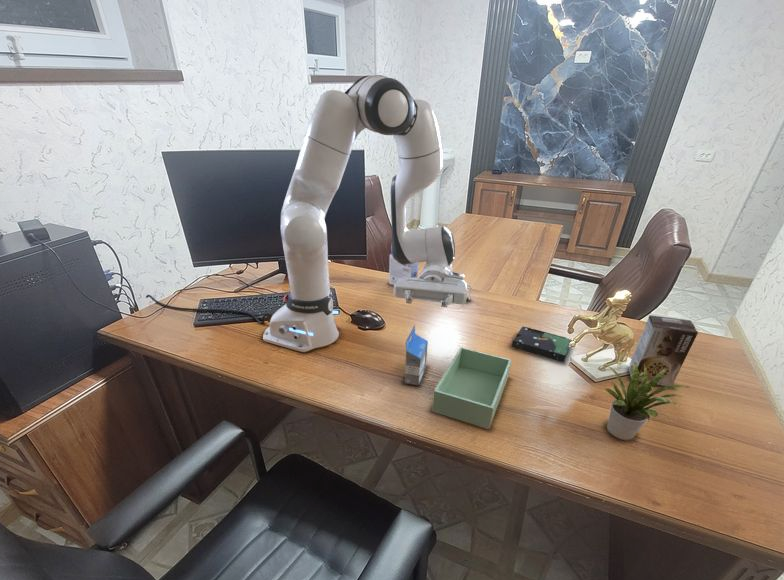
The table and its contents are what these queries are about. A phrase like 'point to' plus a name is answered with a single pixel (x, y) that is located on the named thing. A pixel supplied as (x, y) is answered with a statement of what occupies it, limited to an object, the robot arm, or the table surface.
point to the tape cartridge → (415, 358)
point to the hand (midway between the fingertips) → (426, 302)
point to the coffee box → (663, 348)
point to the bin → (472, 387)
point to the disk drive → (542, 344)
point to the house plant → (635, 403)
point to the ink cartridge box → (401, 270)
